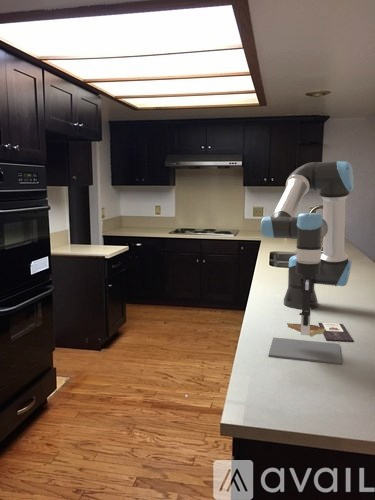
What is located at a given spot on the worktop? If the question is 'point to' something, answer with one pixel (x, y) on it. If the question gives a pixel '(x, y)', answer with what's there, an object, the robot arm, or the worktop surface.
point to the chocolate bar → (335, 332)
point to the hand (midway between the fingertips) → (305, 330)
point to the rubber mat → (305, 350)
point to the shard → (313, 329)
